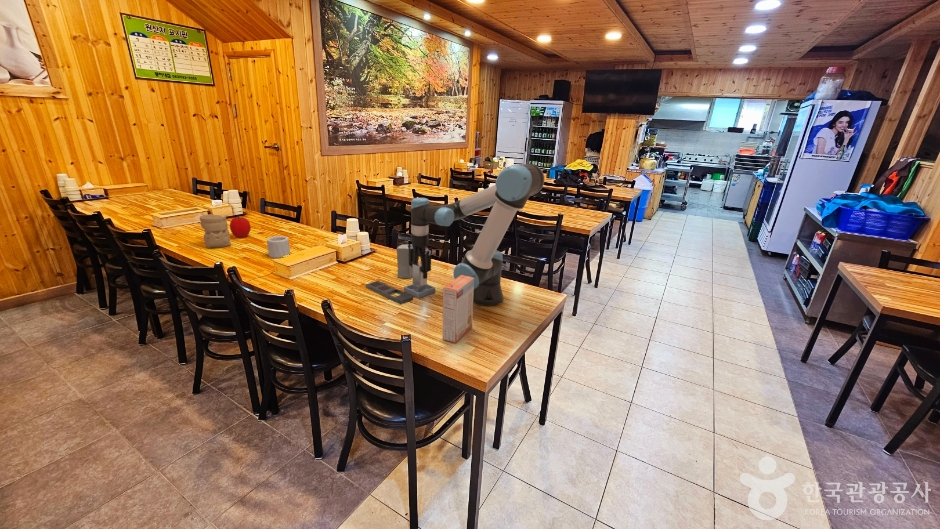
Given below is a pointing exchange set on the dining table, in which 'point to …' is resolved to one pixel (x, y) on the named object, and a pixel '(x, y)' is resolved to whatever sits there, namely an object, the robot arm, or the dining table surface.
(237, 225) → the red apple
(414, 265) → the block
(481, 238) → the robot arm
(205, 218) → the container
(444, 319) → the cracker box
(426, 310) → the dining table surface
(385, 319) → the dining table surface
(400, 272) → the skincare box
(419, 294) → the parts tray
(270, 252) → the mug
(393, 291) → the rail
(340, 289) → the dining table surface
